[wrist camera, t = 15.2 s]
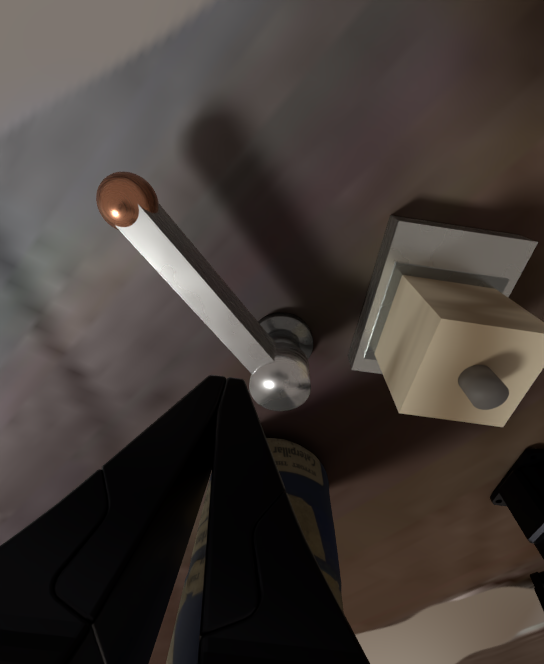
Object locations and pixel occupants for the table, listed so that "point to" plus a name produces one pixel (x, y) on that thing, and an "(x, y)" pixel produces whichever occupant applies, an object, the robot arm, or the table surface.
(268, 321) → the grey metal flanged disc
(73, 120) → the table surface
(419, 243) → the plate
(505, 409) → the block
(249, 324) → the lever
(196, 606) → the canister
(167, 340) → the table surface
